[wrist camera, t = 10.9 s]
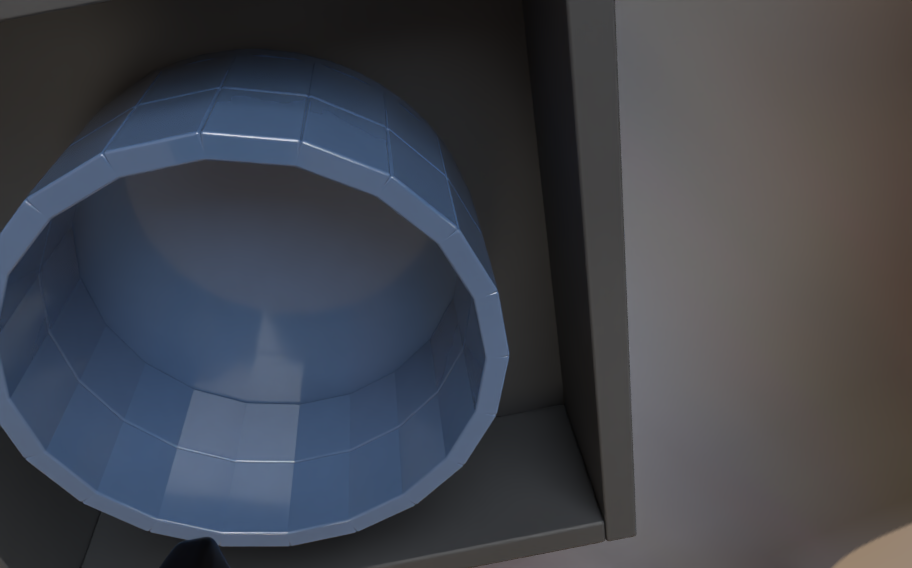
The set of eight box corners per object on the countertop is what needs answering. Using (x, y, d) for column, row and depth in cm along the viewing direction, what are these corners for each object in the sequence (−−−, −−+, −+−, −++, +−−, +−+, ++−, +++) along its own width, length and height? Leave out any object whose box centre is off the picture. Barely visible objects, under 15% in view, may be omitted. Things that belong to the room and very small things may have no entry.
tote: (539, -170, 15) (609, -157, 11) (587, 405, 24) (637, 537, 19) (-234, -21, 15) (-465, 49, 11) (96, 501, 23) (39, 653, 19)
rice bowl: (433, 3, 16) (459, 75, 12) (501, 360, 22) (535, 495, 17) (-24, 102, 16) (-158, 208, 12) (160, 433, 22) (112, 585, 17)
